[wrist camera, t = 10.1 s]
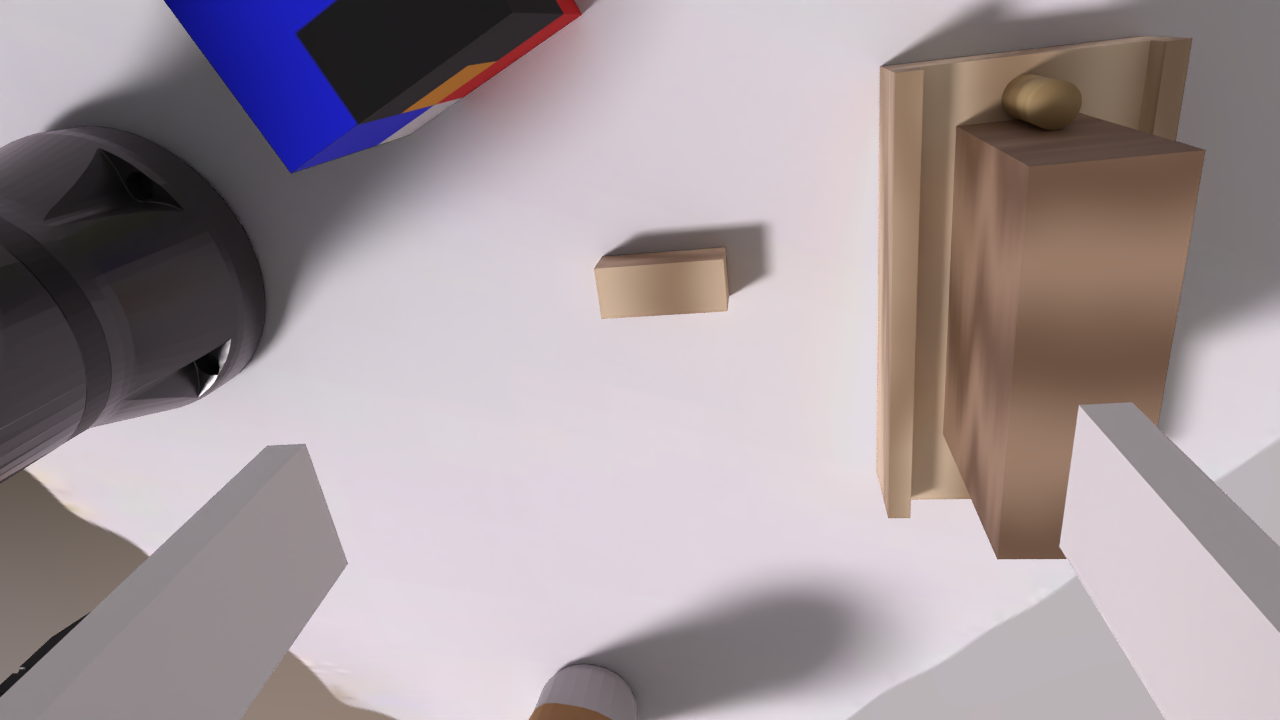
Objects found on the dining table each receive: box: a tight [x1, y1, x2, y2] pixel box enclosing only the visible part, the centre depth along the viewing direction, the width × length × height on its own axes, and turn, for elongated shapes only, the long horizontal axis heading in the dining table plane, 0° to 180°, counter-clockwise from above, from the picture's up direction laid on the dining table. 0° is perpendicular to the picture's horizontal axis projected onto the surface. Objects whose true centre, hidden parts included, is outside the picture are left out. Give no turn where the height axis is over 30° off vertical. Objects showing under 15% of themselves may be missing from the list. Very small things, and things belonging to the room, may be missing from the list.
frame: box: [943, 113, 1205, 559], centre depth 28 cm, size 14×4×9 cm, turn 7°
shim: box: [594, 247, 729, 319], centre depth 36 cm, size 6×2×2 cm, turn 97°
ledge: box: [877, 36, 1192, 518], centre depth 32 cm, size 10×20×6 cm, turn 7°
